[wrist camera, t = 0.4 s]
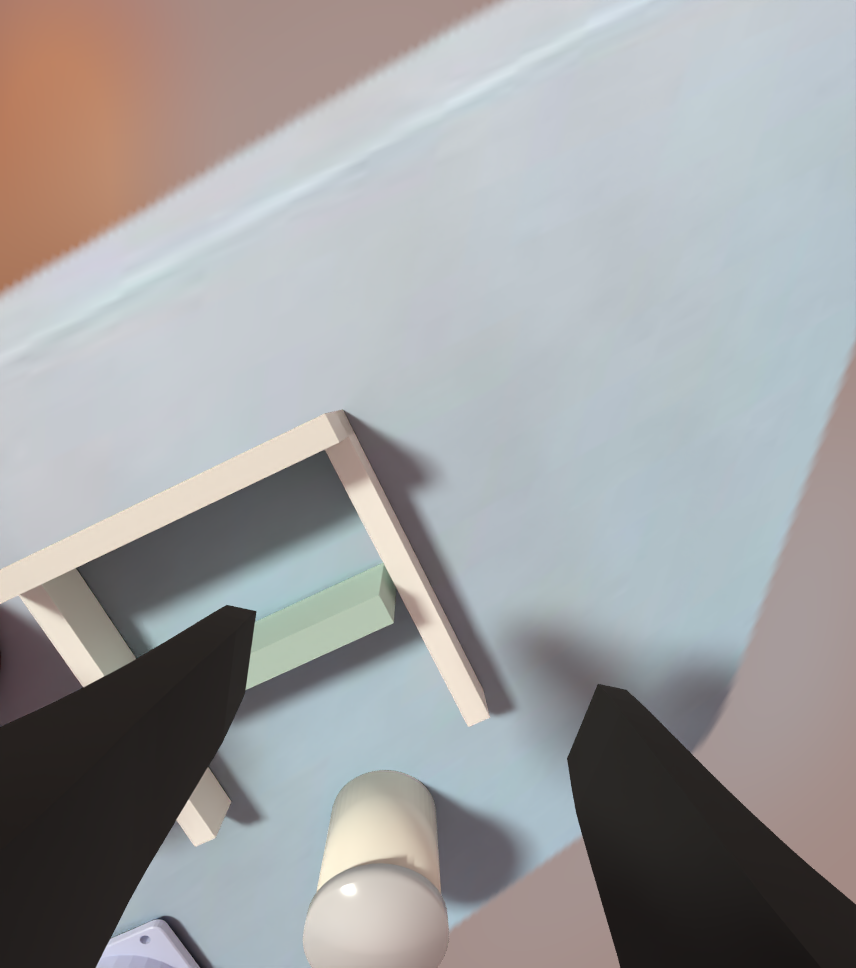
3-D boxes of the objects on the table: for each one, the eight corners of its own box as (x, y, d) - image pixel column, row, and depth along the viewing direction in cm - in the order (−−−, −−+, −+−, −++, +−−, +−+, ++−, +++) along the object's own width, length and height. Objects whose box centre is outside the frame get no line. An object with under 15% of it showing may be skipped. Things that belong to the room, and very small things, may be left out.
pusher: (161, 694, 20) (115, 749, 17) (146, 671, 20) (97, 723, 17) (396, 586, 20) (393, 623, 17) (383, 562, 19) (378, 594, 16)
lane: (212, 810, 22) (169, 901, 18) (39, 555, 19) (-57, 596, 15) (483, 690, 21) (500, 757, 17) (342, 409, 18) (324, 413, 15)
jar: (359, 876, 23) (344, 1015, 18) (307, 794, 22) (276, 915, 17) (458, 834, 23) (472, 962, 18) (410, 748, 22) (410, 858, 17)
